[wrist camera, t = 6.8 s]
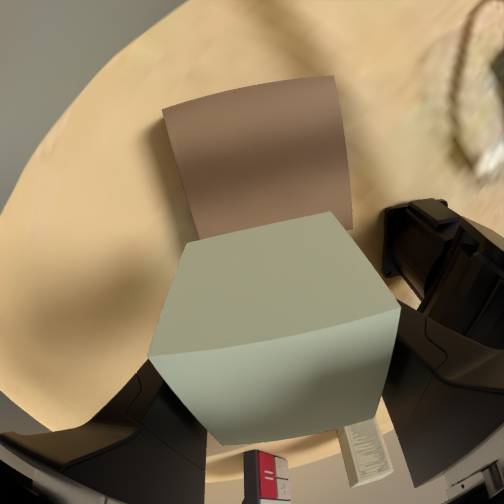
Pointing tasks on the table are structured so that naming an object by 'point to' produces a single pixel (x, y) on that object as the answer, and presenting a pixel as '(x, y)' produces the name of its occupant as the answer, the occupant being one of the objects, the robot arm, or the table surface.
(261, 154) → the walnut block
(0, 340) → the table surface
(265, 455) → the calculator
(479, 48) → the table surface
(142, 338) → the table surface
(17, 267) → the table surface
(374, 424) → the skincare box
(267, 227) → the sage cube
